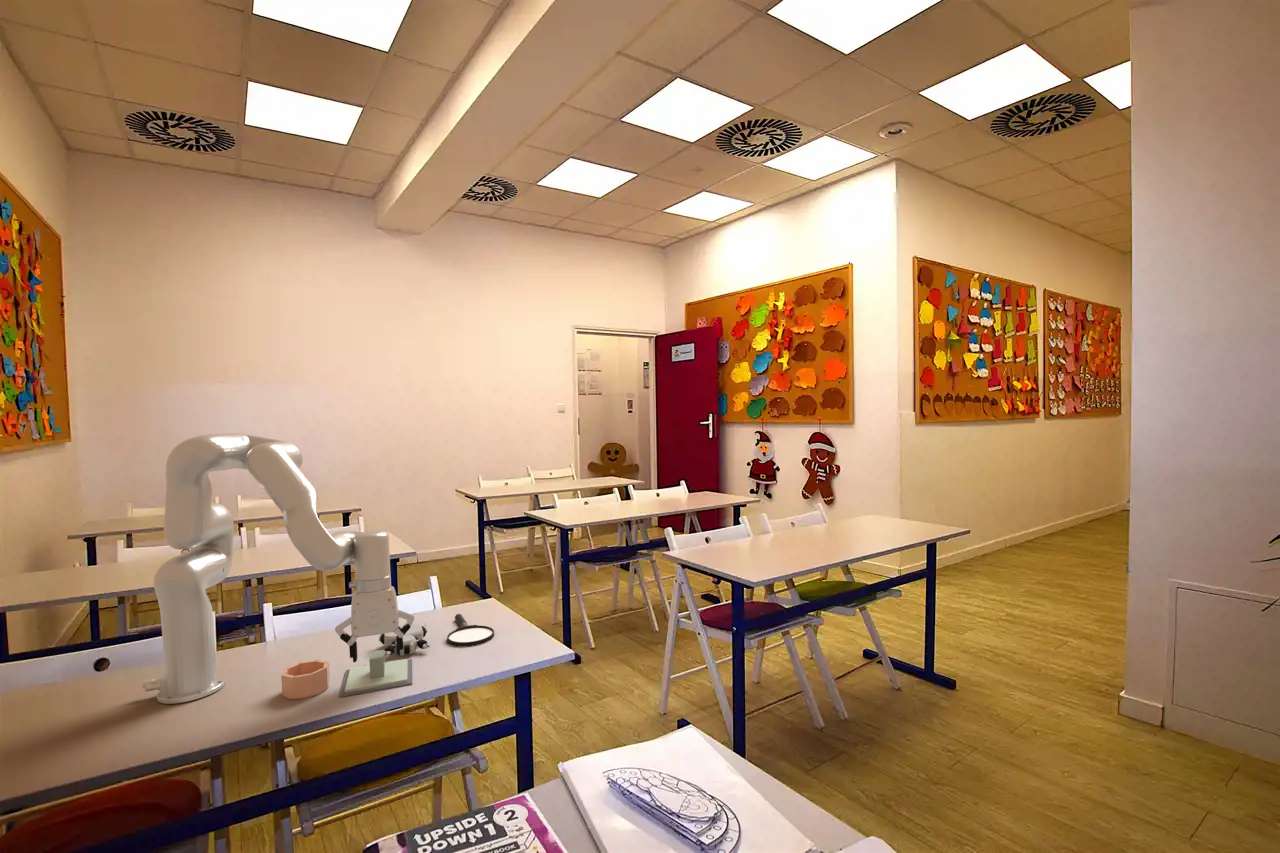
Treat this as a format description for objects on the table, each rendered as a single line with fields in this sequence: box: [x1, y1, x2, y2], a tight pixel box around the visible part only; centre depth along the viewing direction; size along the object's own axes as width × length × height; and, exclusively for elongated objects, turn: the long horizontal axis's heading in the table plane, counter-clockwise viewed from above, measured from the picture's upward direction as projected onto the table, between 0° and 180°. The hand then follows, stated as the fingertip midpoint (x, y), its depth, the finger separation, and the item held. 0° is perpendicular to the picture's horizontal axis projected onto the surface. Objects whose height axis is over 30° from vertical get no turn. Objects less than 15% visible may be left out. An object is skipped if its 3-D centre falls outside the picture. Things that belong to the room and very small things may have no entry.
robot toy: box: [378, 622, 431, 657], centre depth 162 cm, size 12×4×15 cm
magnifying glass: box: [446, 613, 495, 647], centre depth 173 cm, size 12×24×2 cm, turn 27°
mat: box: [339, 658, 413, 698], centre depth 144 cm, size 15×15×1 cm
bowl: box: [280, 659, 331, 700], centre depth 139 cm, size 9×9×5 cm
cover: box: [345, 649, 408, 693], centre depth 144 cm, size 13×13×5 cm
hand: (377, 656), depth 144 cm, fingers open, 9 cm apart
